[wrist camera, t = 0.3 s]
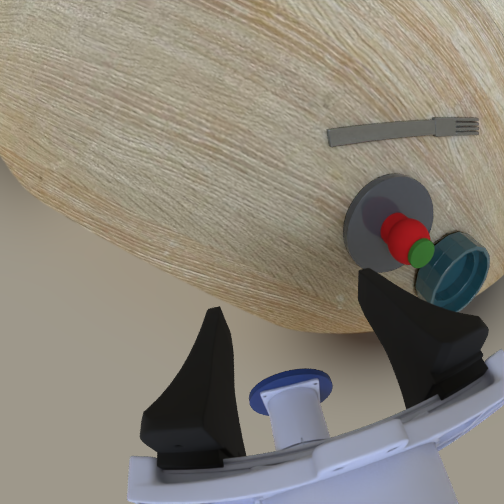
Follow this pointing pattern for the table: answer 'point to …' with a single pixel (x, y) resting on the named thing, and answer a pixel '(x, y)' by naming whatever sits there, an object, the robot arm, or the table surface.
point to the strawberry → (407, 240)
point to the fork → (401, 130)
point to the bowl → (453, 272)
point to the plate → (383, 218)
